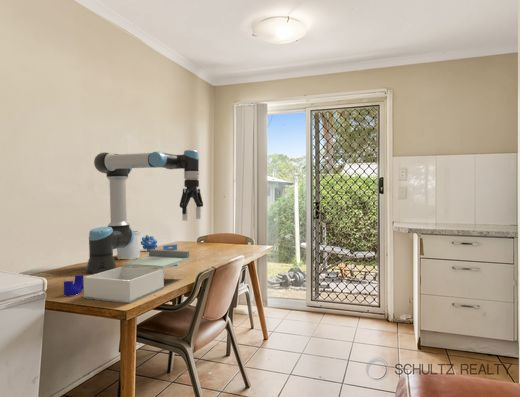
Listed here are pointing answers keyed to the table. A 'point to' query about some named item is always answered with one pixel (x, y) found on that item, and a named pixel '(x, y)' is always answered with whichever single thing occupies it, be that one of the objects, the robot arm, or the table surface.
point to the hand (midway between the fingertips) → (192, 219)
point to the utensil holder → (130, 248)
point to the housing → (123, 284)
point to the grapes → (149, 243)
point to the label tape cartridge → (174, 248)
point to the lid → (159, 259)
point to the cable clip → (74, 286)
